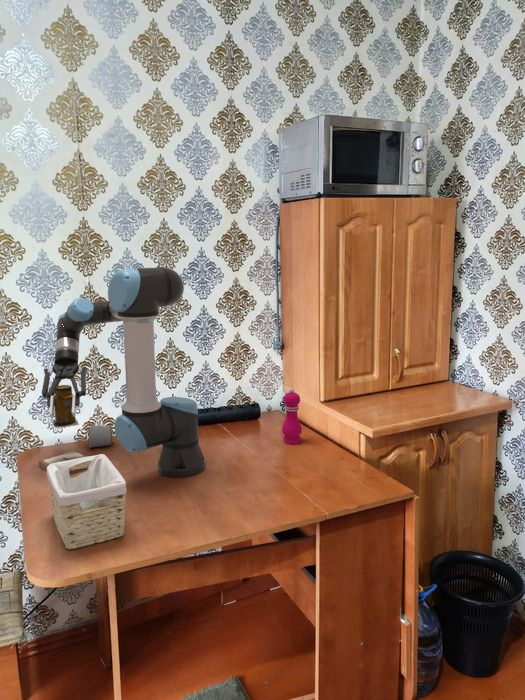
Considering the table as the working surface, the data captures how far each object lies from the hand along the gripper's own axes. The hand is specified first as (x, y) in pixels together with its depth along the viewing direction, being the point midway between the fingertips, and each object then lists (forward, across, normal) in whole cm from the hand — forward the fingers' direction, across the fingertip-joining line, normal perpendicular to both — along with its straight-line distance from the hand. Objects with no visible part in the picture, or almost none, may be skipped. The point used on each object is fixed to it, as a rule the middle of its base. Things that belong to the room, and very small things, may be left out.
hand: (62, 415), depth 179 cm
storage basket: (+41, -11, +14) cm, 45 cm away
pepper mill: (+6, -77, -21) cm, 80 cm away
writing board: (+11, 0, -16) cm, 19 cm away
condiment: (0, 0, -6) cm, 6 cm away
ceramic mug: (-2, -8, -30) cm, 31 cm away
